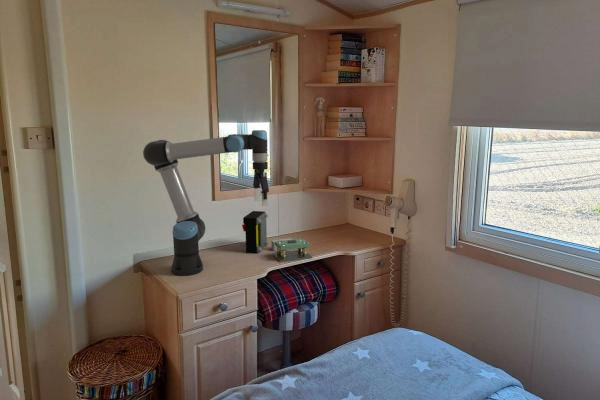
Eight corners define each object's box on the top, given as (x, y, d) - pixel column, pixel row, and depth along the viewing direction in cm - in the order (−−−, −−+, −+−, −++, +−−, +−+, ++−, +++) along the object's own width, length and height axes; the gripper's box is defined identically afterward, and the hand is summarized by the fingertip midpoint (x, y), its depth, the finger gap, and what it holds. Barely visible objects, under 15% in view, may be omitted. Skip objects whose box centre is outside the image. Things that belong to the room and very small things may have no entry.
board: (280, 250, 225) (280, 245, 225) (274, 245, 234) (274, 239, 234) (309, 246, 231) (309, 241, 230) (302, 241, 240) (302, 236, 240)
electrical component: (260, 254, 239) (259, 218, 235) (242, 252, 241) (241, 217, 237) (269, 244, 256) (268, 211, 252) (252, 243, 258) (251, 210, 254)
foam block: (274, 251, 243) (274, 242, 242) (271, 248, 248) (271, 240, 247) (294, 248, 247) (294, 240, 246) (291, 246, 252) (291, 238, 251)
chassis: (280, 262, 225) (279, 247, 223) (272, 255, 237) (272, 240, 235) (312, 258, 231) (312, 243, 230) (303, 251, 243) (303, 237, 241)
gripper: (274, 163, 207) (275, 207, 211) (260, 158, 230) (261, 198, 234) (259, 164, 204) (260, 208, 208) (246, 159, 227) (247, 199, 231)
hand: (260, 203), depth 221 cm, fingers open, 13 cm apart
